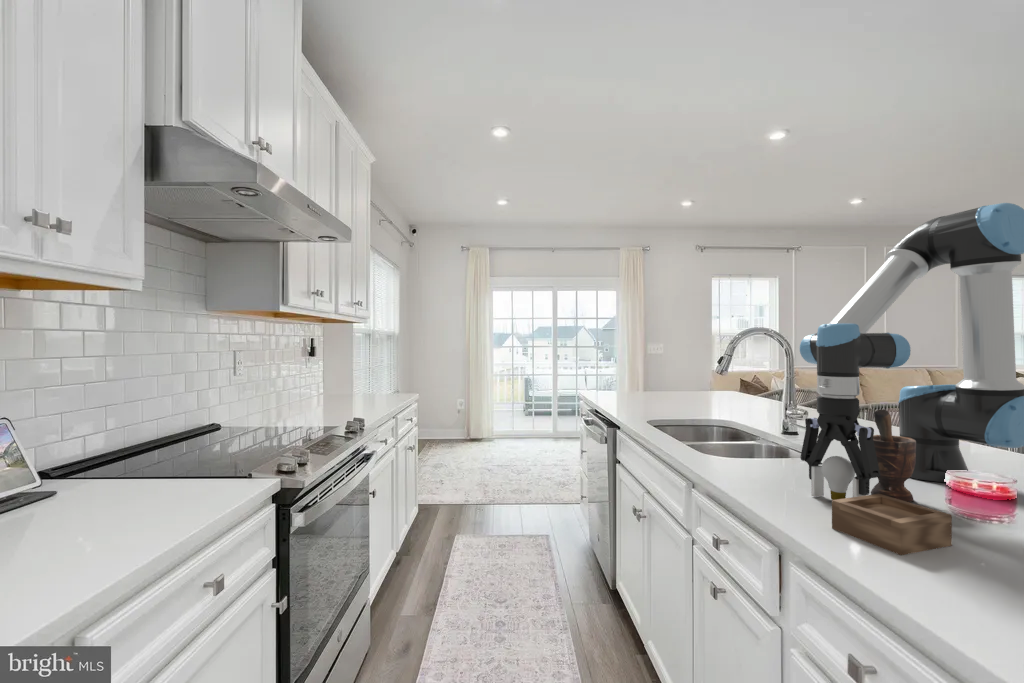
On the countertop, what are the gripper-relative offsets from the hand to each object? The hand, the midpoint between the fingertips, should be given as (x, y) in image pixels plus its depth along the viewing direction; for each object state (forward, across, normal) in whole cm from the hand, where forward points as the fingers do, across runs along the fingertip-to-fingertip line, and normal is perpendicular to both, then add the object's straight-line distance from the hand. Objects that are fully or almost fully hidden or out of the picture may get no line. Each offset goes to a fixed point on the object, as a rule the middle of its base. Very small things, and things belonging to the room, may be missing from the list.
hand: (837, 502), depth 104 cm
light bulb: (0, 0, 0) cm, 0 cm away
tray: (0, +16, -8) cm, 18 cm away
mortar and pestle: (0, +2, +13) cm, 13 cm away
